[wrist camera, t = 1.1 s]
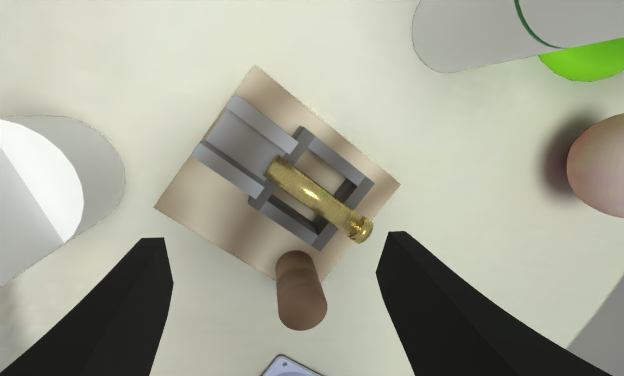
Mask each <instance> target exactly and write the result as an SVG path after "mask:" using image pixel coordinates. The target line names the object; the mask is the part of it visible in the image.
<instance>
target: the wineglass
mask: <svg viewBox="0 0 624 376" xmlns="http://www.w3.org/2000/svg"><path fill="white" fill-rule="evenodd" d="M539 57H540V59H541V61H543V62H544V63H545V64H546V65H547V66H548V67H549V68H550V69H551V70H552V71H553V72H555V73H556V74H558V75H560V76H563V77H565V78H567V79H570V80H572V81H588V82H591V81H595V80H599V79H603V78H607V77H611V76H613V75H615V74H617V73H618V72H620V71H622V70H624V37H622V38H617V39H613V40H608V41H603V42H598V43H593V44H588V45H583V46H578V47H573V48H569V49H564V50H559V51H554V52H549V53H544V54H540V55H539Z"/></svg>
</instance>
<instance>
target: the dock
mask: <svg viewBox="0 0 624 376" xmlns="http://www.w3.org/2000/svg"><path fill="white" fill-rule="evenodd" d="M278 154H279V155H280V156H281V157H283V158H284V159H285V160H287V161H288V162H289V163H291V164H292V165H293V166H295V167H296V168H297V169H299V170H300V171H301V172H303V173H304V174H306V175H307V176H308V177H310V178H311V179H312V180H314V181H315V182H316V183H318V184H319V185H320V186H322V187H323V188H324V189H326V190H327V191H328V192H330V193H331V194H332V195H334V196H335V197H337V198H338V199H339V200H341V201H342V202H343V203H345V204H346V205H347V206H349V207H350V208H351V209H353V210H354V211H355V212H357V213H358V214H359V215H361V216H364V217H366V218H367V219H368V220H370V221H372V219H373V218H374V217H375V216H376V214H377V213H378V212H379V211H380V209H381V208H382V207H383V206H384V205H385V203H386V202H387V201H388V200H389V198H390V197H391V196H392V195H393V193H394V192H395V191H396V190H397V189H398V187H399V186H400V185H401V184H400V183H398V182H397V181H396V180H395V179H394V178H392V177H391V176H390V175H389V174H387V173H386V172H385V171H384V170H383V169H381V168H380V167H379V166H378V165H377V164H375V163H374V162H373V161H372V160H370V159H369V158H368V157H367V156H366V155H364V154H363V153H362V152H361V151H359V150H358V149H357V148H356V147H355V146H353V145H352V144H351V143H350V142H348V141H347V140H346V139H345V138H344V137H342V136H341V135H340V134H339V133H337V132H336V131H335V130H334V129H333V128H331V127H330V126H329V125H328V124H326V123H325V122H324V121H323V120H322V119H320V118H319V117H318V116H317V115H316V114H314V113H313V112H312V111H311V110H309V109H308V108H307V107H306V106H305V105H303V104H302V103H301V102H300V101H298V100H297V99H296V98H295V97H294V96H292V95H291V94H290V93H289V92H287V91H286V90H285V89H284V88H283V87H281V86H280V85H279V84H278V83H276V82H275V81H274V80H273V79H272V78H270V77H269V76H268V75H267V74H266V73H264V72H263V71H262V70H261V69H259V68H258V67H257V66H256V65H255V66H254V67H253V69H252V70H251V71H250V73H249V74H248V76H247V77H246V78H245V80H244V81H243V83H242V84H241V85H240V87H239V88H238V90H237V91H236V92H235V93H234V95H233V96H232V98H231V99H230V100H229V102H228V103H227V105H226V106H225V108H224V109H223V111H222V112H221V113H220V115H219V116H218V118H217V119H216V120H215V122H214V123H213V125H212V126H211V127H210V129H209V130H208V132H207V133H206V134H205V136H204V137H203V139H202V140H201V141H200V142H199V144H198V145H197V147H196V148H195V149H194V151H193V152H192V154H191V155H190V157H189V158H188V160H187V161H186V162H185V164H184V165H183V167H182V168H181V169H180V171H179V172H178V174H177V175H176V176H175V178H174V179H173V181H172V182H171V183H170V185H169V186H168V188H167V189H166V190H165V192H164V193H163V195H162V196H161V197H160V199H159V200H158V202H157V203H156V204H155V206H154V207H153V208H155V209H157V210H158V211H160V212H162V213H163V214H165V215H167V216H168V217H170V218H172V219H173V220H175V221H177V222H178V223H180V224H182V225H183V226H185V227H187V228H188V229H190V230H192V231H193V232H195V233H197V234H198V235H200V236H202V237H203V238H205V239H207V240H208V241H210V242H212V243H213V244H215V245H217V246H218V247H220V248H222V249H223V250H225V251H227V252H228V253H230V254H232V255H233V256H235V257H237V258H238V259H240V260H242V261H243V262H245V263H247V264H248V265H250V266H252V267H253V268H255V269H257V270H258V271H260V272H262V273H263V274H265V275H267V276H268V277H270V278H272V279H273V280H275V281H276V272H275V267H276V263H277V261H278V259H279V258H280V257H281V256H282V255H283V254H285V253H287V252H289V251H294V250H299V251H303V252H305V253H307V254H308V255H309V256H310V257H311V258H312V260H313V262H314V265H315V268H316V271H317V274H318V277H319V280H320V283H321V282H322V281H323V280H324V278H325V277H326V276H327V275H328V273H329V272H330V271H331V270H332V268H333V267H334V266H335V265H336V264H337V262H338V261H339V260H340V259H341V257H342V256H343V255H344V254H345V252H346V251H347V250H348V249H349V248H350V246H351V245H352V244H353V243H354V241H353V240H351V239H350V238H349V237H348V236H347V234H345V233H344V232H342V231H341V230H340V229H338V228H337V227H335V226H334V225H333V224H331V223H330V222H328V221H327V220H325V219H324V218H323V217H321V216H320V215H318V214H317V213H316V212H314V211H313V210H311V209H310V208H308V207H307V206H306V205H304V204H303V203H301V202H300V201H299V200H297V199H296V198H294V197H293V196H291V195H290V194H289V193H287V192H286V191H284V190H283V189H282V188H280V187H279V186H277V185H276V184H274V183H273V182H272V181H270V180H269V179H267V178H266V177H265V176H263V173H264V171H265V170H266V168H267V167H268V165H269V164H270V163H271V161H272V160H273V159H274V158H275V156H276V155H278Z"/></svg>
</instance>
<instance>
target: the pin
mask: <svg viewBox="0 0 624 376" xmlns="http://www.w3.org/2000/svg"><path fill="white" fill-rule="evenodd" d="M263 176H265V177H266V178H267V179H269V180H270V181H272V182H273V183H274V184H276V185H277V186H279V187H280V188H282V189H283V190H284V191H286V192H287V193H289V194H290V195H291V196H293V197H294V198H296V199H297V200H299V201H300V202H301V203H303V204H304V205H306V206H307V207H308V208H310V209H311V210H313V211H314V212H316V213H317V214H318V215H320V216H321V217H323V218H324V219H325V220H327V221H328V222H330V223H331V224H333V225H334V226H335V227H337V228H338V229H340V230H341V231H342V232H344V233H345V234H347V236H348V237H349V238H350V239H351V240H353V241H354V242H356V243H358V244H359V243H362V242H364V241H365V240H366V239H367V238H368V237H369V236H370V234H371V232H372V229H373V223H372V222H371V221H370V220H368V219H367V218H366V217H364V216H361V215H359V214H358V213H357V212H355V211H354V210H353V209H351V208H350V207H349V206H347V205H346V204H345V203H343V202H342V201H341V200H339V199H338V198H337V197H335V196H334V195H332V194H331V193H330V192H328V191H327V190H326V189H324V188H323V187H322V186H320V185H319V184H318V183H316V182H315V181H314V180H312V179H311V178H310V177H308V176H307V175H306V174H304V173H303V172H301V171H300V170H299V169H297V168H296V167H295V166H293V165H292V164H291V163H289V162H288V161H287V160H285V159H284V158H283V157H281V156H280V155H279V154H278V155H276V156H275V158H274V159H273V160H272V161H271V163H270V164H269V165H268V167H267V168H266V170H265V171H264V173H263Z"/></svg>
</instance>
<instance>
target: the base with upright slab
mask: <svg viewBox="0 0 624 376" xmlns="http://www.w3.org/2000/svg"><path fill="white" fill-rule="evenodd" d="M125 182H126V181H125V171H124V166H123V163H122V161H121V158H120V156H119V154H118V152H117V151H116V149H115V148H114V147H113V145H112V144H111V142H110V141H109V140H108V139H107V138H105V137H104V136H103V135H102V134H101V133H100V132H99V131H97V130H96V129H94V128H92V127H90V126H89V125H87V124H85V123H83V122H81V121H78V120H74V119H71V118H67V117H60V116H18V117H0V287H1V286H3V285H4V284H6V283H7V282H9V281H10V280H12V279H13V278H15V277H16V276H18V275H19V274H21V273H22V272H24V271H25V270H27V269H28V268H30V267H31V266H33V265H34V264H36V263H37V262H39V261H40V260H42V259H43V258H45V257H46V256H48V255H49V254H51V253H52V252H54V251H55V250H57V249H58V248H60V247H61V246H63V245H64V244H66V243H67V242H69V241H70V240H72V239H73V238H75V237H76V236H78V235H79V234H81V233H82V232H84V231H85V230H87V229H88V228H90V227H91V226H93V225H94V224H96V223H97V222H99V221H100V220H102V219H103V218H105V217H106V216H107V215H108V214H110V213H111V212H112V211H113V210H114V209H115V208H116V207H117V205H118V203H119V201H120V200H121V198H122V196H123V192H124V187H125Z"/></svg>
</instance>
